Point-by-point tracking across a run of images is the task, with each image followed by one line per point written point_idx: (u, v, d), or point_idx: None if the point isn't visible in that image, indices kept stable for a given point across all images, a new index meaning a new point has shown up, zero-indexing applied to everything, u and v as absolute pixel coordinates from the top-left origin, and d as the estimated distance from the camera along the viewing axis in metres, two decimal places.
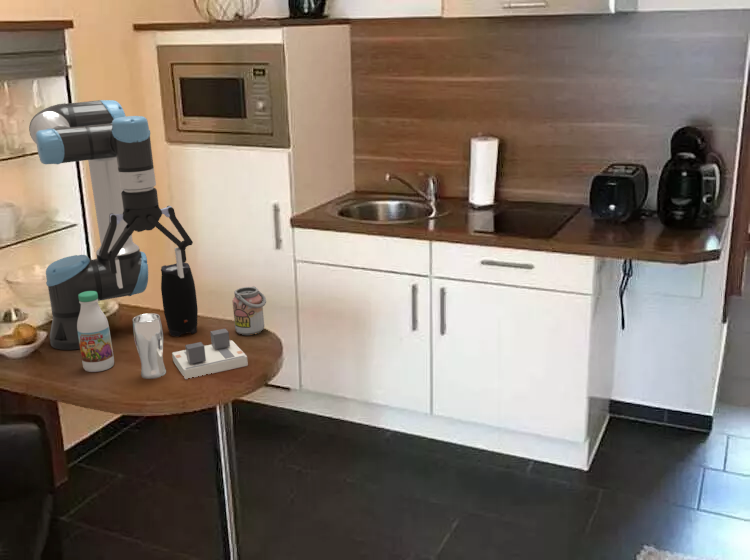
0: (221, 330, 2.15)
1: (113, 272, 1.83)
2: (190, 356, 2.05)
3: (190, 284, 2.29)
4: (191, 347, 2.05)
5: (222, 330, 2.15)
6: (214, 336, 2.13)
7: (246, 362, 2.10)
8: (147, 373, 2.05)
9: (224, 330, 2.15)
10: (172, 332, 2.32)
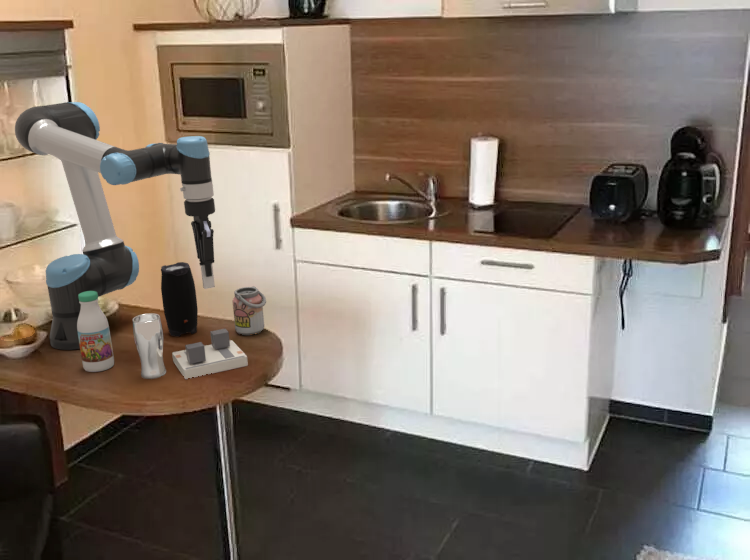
0: (221, 330, 2.15)
1: None
2: (190, 356, 2.05)
3: (190, 284, 2.29)
4: (191, 347, 2.05)
5: (222, 330, 2.15)
6: (214, 336, 2.13)
7: (246, 362, 2.10)
8: (147, 373, 2.05)
9: (224, 330, 2.15)
10: (172, 332, 2.32)
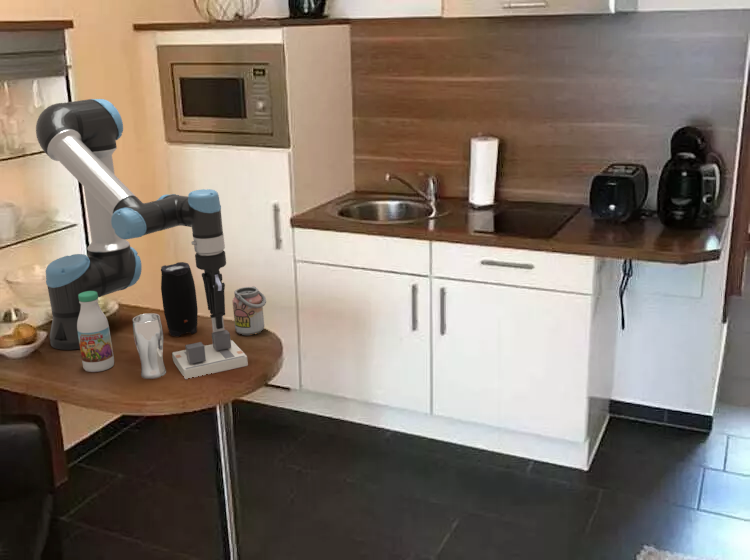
0: (222, 331, 2.15)
1: None
2: (190, 356, 2.05)
3: (190, 284, 2.29)
4: (191, 347, 2.05)
5: (224, 332, 2.14)
6: (215, 337, 2.12)
7: (246, 362, 2.10)
8: (147, 373, 2.05)
9: (225, 331, 2.14)
10: (172, 332, 2.32)
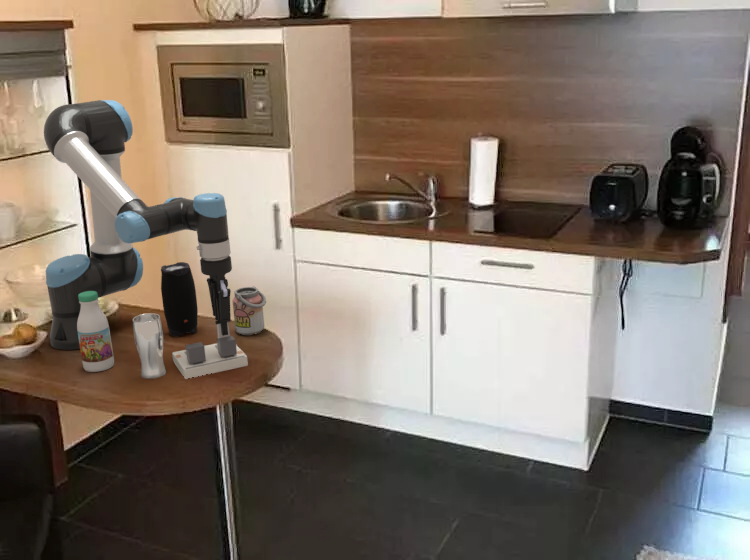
0: (228, 337, 2.10)
1: None
2: (190, 356, 2.05)
3: (190, 284, 2.29)
4: (191, 347, 2.05)
5: (229, 338, 2.10)
6: (221, 344, 2.08)
7: (246, 362, 2.10)
8: (147, 373, 2.05)
9: (231, 337, 2.10)
10: (172, 332, 2.32)
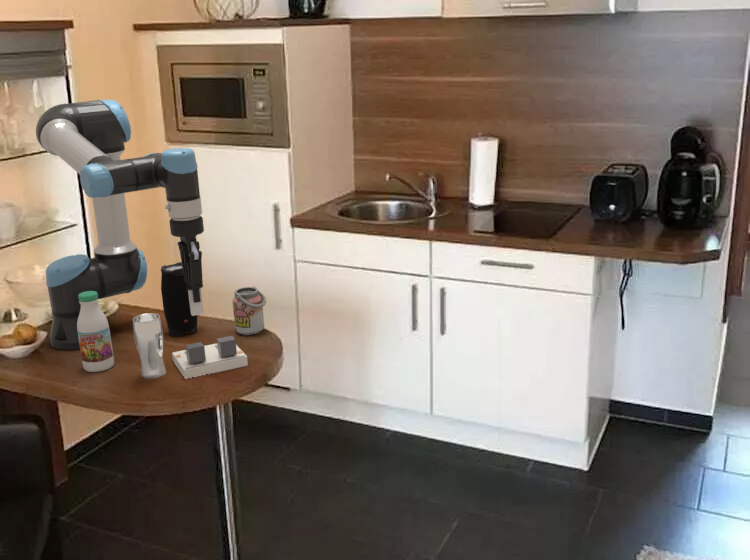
0: (228, 337, 2.10)
1: None
2: (190, 356, 2.05)
3: None
4: (191, 347, 2.05)
5: (229, 338, 2.10)
6: (221, 344, 2.08)
7: (246, 362, 2.10)
8: (147, 373, 2.05)
9: (231, 337, 2.10)
10: (172, 332, 2.32)
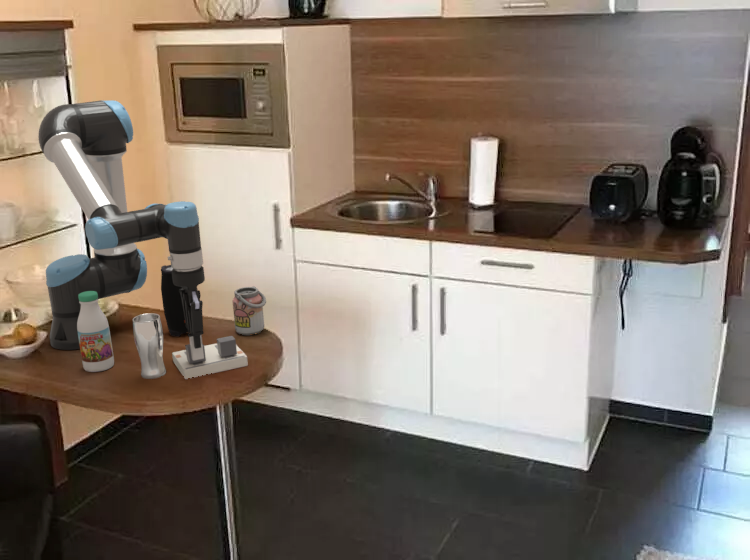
0: (228, 337, 2.10)
1: None
2: (190, 356, 2.05)
3: None
4: None
5: (229, 338, 2.10)
6: (221, 344, 2.08)
7: (246, 362, 2.10)
8: (147, 373, 2.05)
9: (231, 337, 2.10)
10: (172, 332, 2.32)
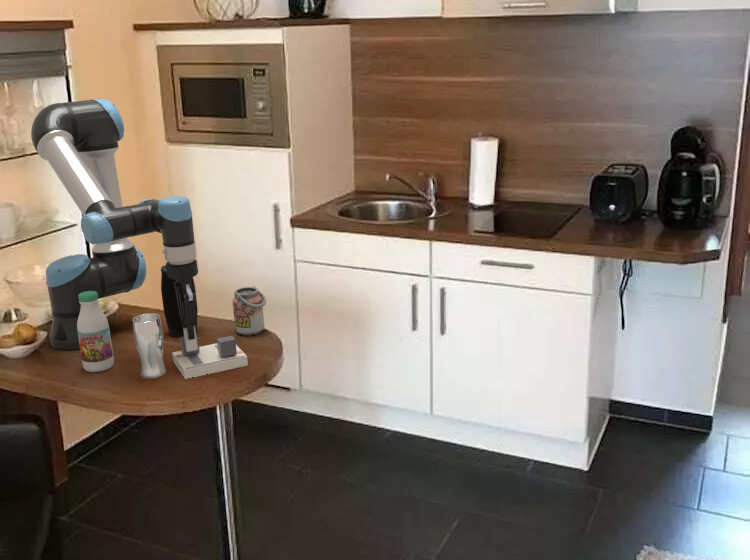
0: (228, 337, 2.10)
1: None
2: (184, 348, 2.10)
3: None
4: None
5: (229, 338, 2.10)
6: (221, 344, 2.08)
7: (246, 362, 2.10)
8: (147, 373, 2.05)
9: (231, 337, 2.10)
10: (172, 332, 2.32)
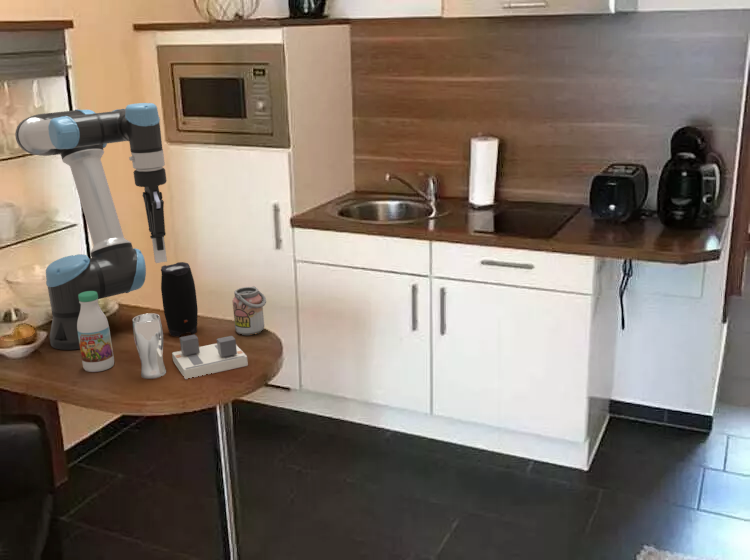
0: (228, 337, 2.10)
1: None
2: (184, 348, 2.10)
3: (190, 284, 2.29)
4: (185, 339, 2.10)
5: (229, 338, 2.10)
6: (221, 344, 2.08)
7: (246, 362, 2.10)
8: (147, 373, 2.05)
9: (231, 337, 2.10)
10: (172, 332, 2.32)
